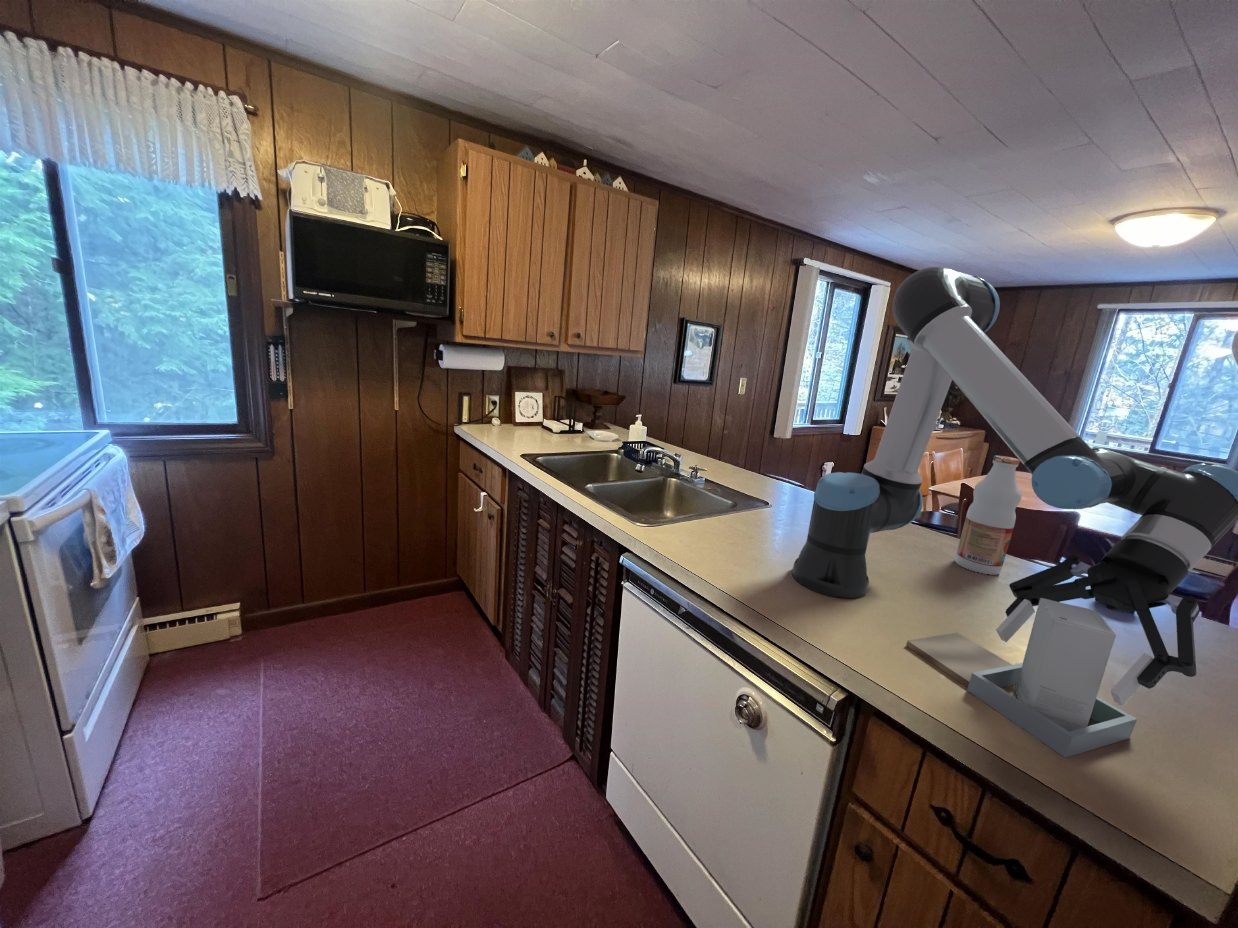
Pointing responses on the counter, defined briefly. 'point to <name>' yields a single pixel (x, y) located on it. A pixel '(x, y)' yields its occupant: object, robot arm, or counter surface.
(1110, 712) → the bin
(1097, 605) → the counter surface
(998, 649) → the counter surface
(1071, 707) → the skincare box
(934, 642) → the coaster
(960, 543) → the fruit juice
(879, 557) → the counter surface
